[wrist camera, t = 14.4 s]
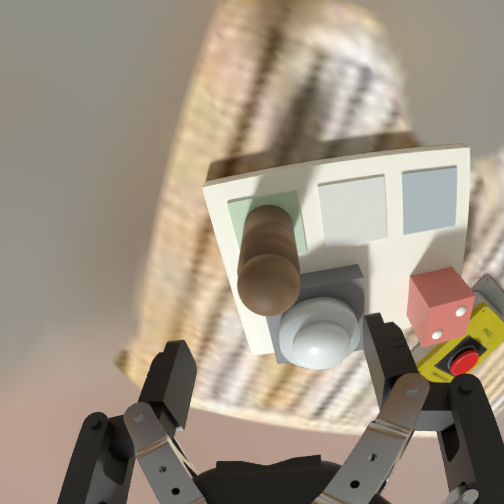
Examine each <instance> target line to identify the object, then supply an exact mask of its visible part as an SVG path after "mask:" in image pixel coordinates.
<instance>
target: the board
mask: <svg viewBox="0 0 504 504" xmlns="http://www.w3.org/2000/svg"><path fill="white" fill-rule="evenodd" d="M202 189H203V193H204V196H205V200H206V204H207V207H208V211H209V214H210V218H211V221H212V224H213V228H214V231H215V235H216V238H217V242H218V245H219V248H220V252H221V255H222V259H223V262H224V265H225V269H226V272H227V275H228V279H229V282H230V285H231V289H232V292H233V295H234V298H235V302H236V305H237V308H238V311H239V315H240V318H241V321H242V324H243V327H244V331H245V334H246V337H247V340H248V343H249V346H250V349H251V353H252V355H260V354H267V353H275V356H276V360H277V364H281V363H288V362H290V361H288V360H287V359H286V358H285V357H284V355H283V354H282V352H281V349H280V343H279V325H280V322H281V319H282V318H283V316H284V315H285V313H286V312H287V311H288V310H289V309H288V310H287V311H286V312H284V313H282V314H280V315H276V316H261V315H258V314H255V313H253V312H252V311H250V310H249V309H248V308H247V307H246V306H245V305H244V304H243V303H242V301H241V299H240V297H239V295H238V290H237V279H238V276H237V267H238V260H239V254H240V247H241V241H242V234H243V228H244V222H245V219H246V217H247V216H248V214H249V213H250V212H251V211H252V210H254V209H255V208H257V207H259V206H263V205H274V206H278V207H280V208H282V209H283V210H285V211H286V212H287V213H288V214H289V215H290V217H291V219H292V222H293V227H294V233H295V240H296V246H297V252H298V258H299V265H300V277H299V278H300V292H299V295H298V298H297V300H296V301H295V303H294V304H293V305H292V307H293V306H294V305H296V304H298V303H299V302H302V301H304V300H307V299H310V298H315V297H331V298H336V299H339V300H341V301H343V302H345V303H346V304H348V305H349V306H350V307H351V308H352V310H353V311H354V313H355V316H356V319H357V322H358V325H359V329H360V340H359V343H358V345H357V347H356V349H355V350H354V351H358V350H363V349H364V347H363V315H367V314H372V313H377V312H380V313H381V316H382V318H383V321H384V323H387V322H392V321H393V322H394V323H395V324H396V325H398V326H399V327H400V328H401V329H404V328H408V327H412V325H411V323H410V321H409V319H408V317H407V315H406V314H407V304H408V292H409V278H410V276H412V275H417V274H422V273H426V272H431V271H435V270H440V269H444V268H449V267H453V268H454V269H455V271H456V272H457V273H458V274H459V275H460V277H461V274H462V267H463V260H464V253H465V245H466V235H467V225H468V212H469V194H470V147H467V146H465V145H463V144H447V145H435V146H424V147H413V148H404V149H394V150H386V151H377V152H369V153H362V154H354V155H347V156H340V157H333V158H327V159H320V160H314V161H308V162H302V163H296V164H290V165H285V166H279V167H274V168H268V169H263V170H258V171H253V172H248V173H243V174H238V175H233V176H228V177H224V178H219V179H214V180H210V181H205V183H204V185H203V187H202Z"/></svg>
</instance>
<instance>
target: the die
mask: <svg viewBox="0 0 504 504" xmlns="http://www.w3.org/2000/svg"><path fill="white" fill-rule="evenodd" d="M474 300H475V294H474V293H473V292H472V291H471V289H470V288H469V287H468V285H467V284H466V283H465V282H464V280H463V279H462V278H461V277H460V275H459V274H458V273H457V272H456V271H455V269H454V268H453V267H449V268H444V269H440V270H435V271H431V272H426V273H422V274H417V275H412V276H410V278H409V292H408V304H407V314H406V315H407V317H408V319H409V321H410V323H411V325H412V327H413V329H414V331H415V333H416V336H417V338H418V340H419V342H420V344H421V346H422V348H424V347H428V346H431V345H435V344H438V343H442V342H445V341H449V340H452V339H455V338H459V337H462V336H465V335H466V331H467V328H468V324H469V320H470V316H471V312H472V308H473V304H474Z"/></svg>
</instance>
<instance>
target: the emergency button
mask: <svg viewBox="0 0 504 504" xmlns="http://www.w3.org/2000/svg"><path fill="white" fill-rule="evenodd" d="M471 291H472V292H473V293H474V294H475V300H474V304H473V308H472V312H471V316H470V320H469V324H468V328H467V331H466V335H465V336H462V337H459V338H455V339H452V340H449V341H445V342H442V343H438V344H435V345H431V346H428V347H424V348H422V346H421V344H420V343H419V344H418V345H416V346H415V347H414V348H413V349H412V350H411V354H412V356H413V359H414V361H415V364H416V366H417V369H418V371H419V373H420V374H421V375H423V376H424V377H425V378H426V379H427V380H429V381H432V382H451V381H452V379H453V378H454V377H455V376H457V375H459V374H463V373H468V374H469V373H470V372H471V371H473V370H474V369H475V368H476V367H477V366H478V365H479V364H480V363H481V362H482V361H484V360H485V359H486V358H487V357H488V356H489V355H490V354H491V353H492V352H493V351H494V350H495V349H496V348H497V347H498V346H499V345H500V344H501V343H502V342H503V341H504V292H503V291H502V290H501V289H500V288H499V286H498V285H497V284H496V283H495V282H494V281H493V280H492V278H491V277H489V276H486V277H483V278H482V279H481V280H480V281H479V282H478V283H477V285H476V286H475V287H474V288H473V289H472V290H471Z"/></svg>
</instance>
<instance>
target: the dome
mask: <svg viewBox="0 0 504 504" xmlns="http://www.w3.org/2000/svg"><path fill="white" fill-rule="evenodd" d="M359 340H360V329H359V325H358V322H357V319H356V316H355V313H354V311H353V310H352V308H351V307H350V306H349V305H348V304H346V303H345V302H343V301H341V300H339V299H336V298H331V297H315V298H310V299H307V300H304V301H302V302H299V303H298V304H296V305H294V306H293V307H291V308H290V309H289V310H288V311H287V312H286V313H285V315H284V316H283V318H282V319H281V322H280V325H279V343H280V349H281V352H282V354H283V355H284V357H285V358H286V359H287V360H288V361H290V362H291V363H293V364H295V365H298V366H301V367H305V368H309V369H326V368H330V367H332V366H335V365H337V364H338V363H340V362H341V361H343V360H344V359H345V358H347V357H348V356H349V355H350V354H351V353H352V352H353V351H354V350H355V349H356V347H357V345H358V343H359Z"/></svg>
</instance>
